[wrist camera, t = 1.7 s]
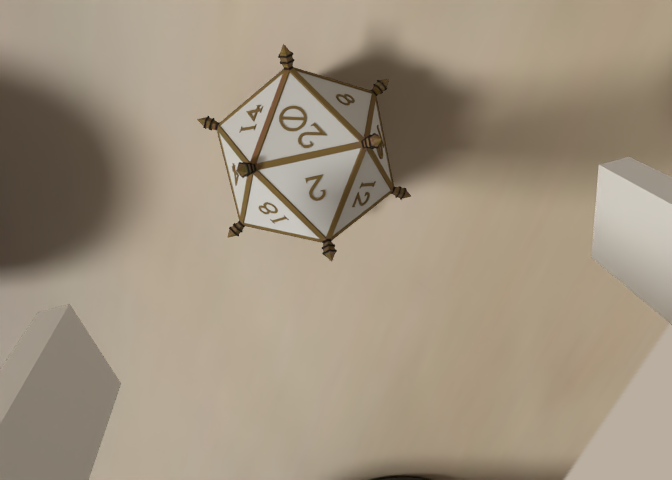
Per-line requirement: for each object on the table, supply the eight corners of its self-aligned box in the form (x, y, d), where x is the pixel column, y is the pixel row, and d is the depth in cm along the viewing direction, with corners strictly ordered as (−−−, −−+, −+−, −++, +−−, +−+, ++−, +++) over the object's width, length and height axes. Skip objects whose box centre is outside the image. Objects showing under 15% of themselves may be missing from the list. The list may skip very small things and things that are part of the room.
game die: (260, 120, 27) (113, 123, 19) (378, 27, 23) (258, -26, 14) (333, 255, 27) (219, 322, 19) (464, 187, 23) (396, 232, 14)
